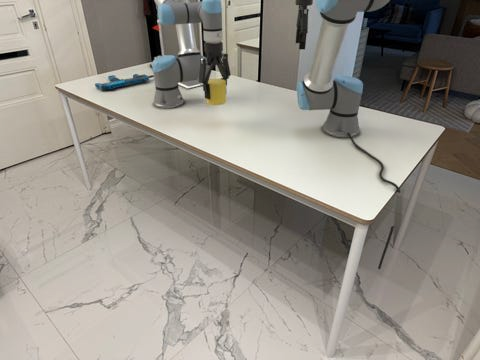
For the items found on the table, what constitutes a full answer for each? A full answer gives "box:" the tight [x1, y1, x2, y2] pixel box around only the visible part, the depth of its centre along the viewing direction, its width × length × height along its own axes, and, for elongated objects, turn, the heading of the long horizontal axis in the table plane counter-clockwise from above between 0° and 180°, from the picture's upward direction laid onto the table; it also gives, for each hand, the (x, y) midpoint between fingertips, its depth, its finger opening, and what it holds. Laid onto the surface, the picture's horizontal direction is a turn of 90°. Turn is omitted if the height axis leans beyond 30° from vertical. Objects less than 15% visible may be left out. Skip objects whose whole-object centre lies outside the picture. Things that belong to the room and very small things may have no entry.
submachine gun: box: [94, 73, 154, 91], centre depth 208 cm, size 34×4×25 cm
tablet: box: [178, 80, 206, 90], centre depth 213 cm, size 32×20×1 cm, turn 41°
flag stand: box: [152, 18, 168, 60], centre depth 234 cm, size 13×13×30 cm
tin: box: [205, 78, 227, 106], centre depth 148 cm, size 9×9×9 cm
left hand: (215, 95), depth 149 cm, fingers closed on tin, 9 cm apart
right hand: (300, 46), depth 160 cm, fingers open, 13 cm apart
